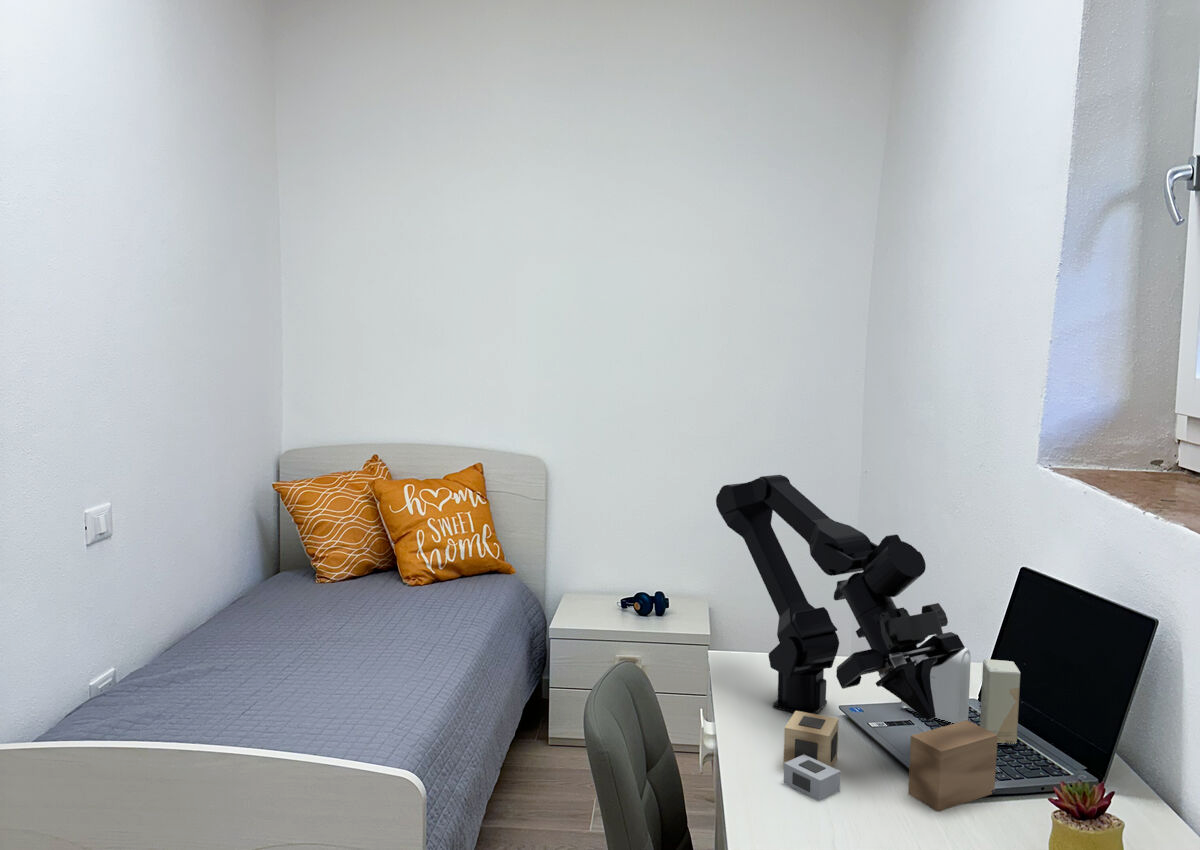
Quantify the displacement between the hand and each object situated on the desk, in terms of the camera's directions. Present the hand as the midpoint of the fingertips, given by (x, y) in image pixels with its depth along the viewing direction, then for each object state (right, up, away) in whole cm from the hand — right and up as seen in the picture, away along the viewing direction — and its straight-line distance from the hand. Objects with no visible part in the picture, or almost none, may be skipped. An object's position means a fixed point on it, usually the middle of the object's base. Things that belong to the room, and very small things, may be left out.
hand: (931, 719), depth 129 cm
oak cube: (-15, -8, +6) cm, 18 cm away
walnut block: (+2, -9, -2) cm, 9 cm away
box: (+14, -7, +13) cm, 21 cm away
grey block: (-16, -9, -1) cm, 18 cm away
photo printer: (+8, -6, +21) cm, 24 cm away
